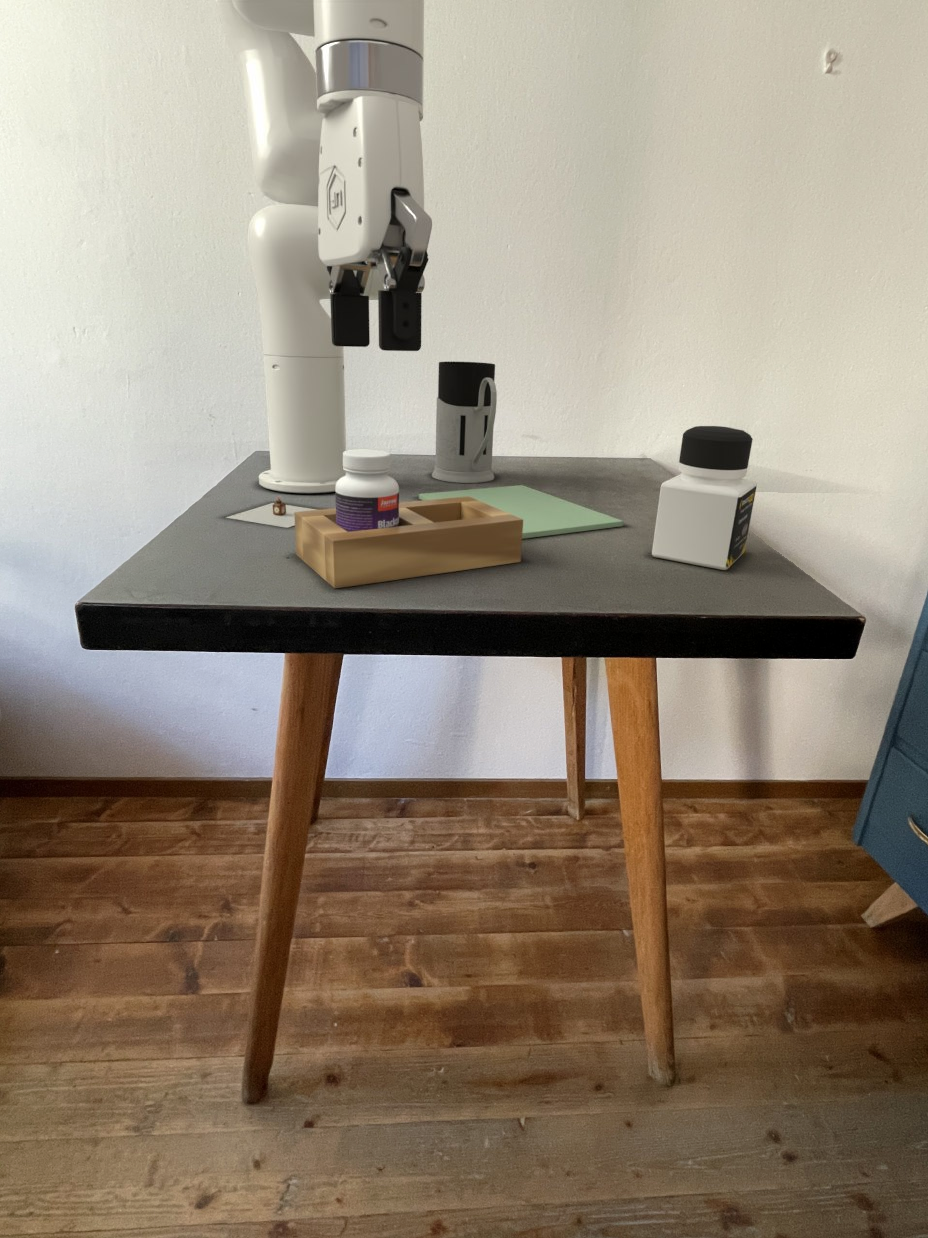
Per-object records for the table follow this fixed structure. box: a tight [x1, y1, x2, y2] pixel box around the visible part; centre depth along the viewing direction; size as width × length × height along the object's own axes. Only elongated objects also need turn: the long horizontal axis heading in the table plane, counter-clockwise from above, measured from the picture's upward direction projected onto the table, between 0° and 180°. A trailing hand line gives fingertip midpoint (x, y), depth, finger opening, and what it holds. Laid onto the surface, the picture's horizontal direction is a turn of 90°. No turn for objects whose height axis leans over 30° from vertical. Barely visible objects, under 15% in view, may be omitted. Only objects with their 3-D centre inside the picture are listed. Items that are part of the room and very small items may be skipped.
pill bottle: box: [334, 448, 400, 532], centre depth 63 cm, size 5×5×10 cm
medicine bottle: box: [651, 425, 758, 571], centre depth 69 cm, size 7×7×12 cm
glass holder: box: [431, 361, 498, 484], centre depth 98 cm, size 9×14×15 cm, turn 21°
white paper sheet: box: [225, 496, 317, 529], centre depth 80 cm, size 8×8×2 cm
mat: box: [418, 484, 624, 540], centre depth 85 cm, size 20×15×1 cm
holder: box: [294, 496, 523, 589], centre depth 66 cm, size 10×18×4 cm, turn 119°
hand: (373, 348), depth 58 cm, fingers open, 9 cm apart
